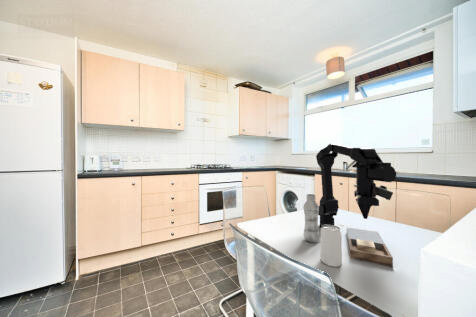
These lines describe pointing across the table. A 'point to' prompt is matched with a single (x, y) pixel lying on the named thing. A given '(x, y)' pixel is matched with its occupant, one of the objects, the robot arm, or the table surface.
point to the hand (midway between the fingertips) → (365, 218)
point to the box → (371, 255)
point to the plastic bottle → (311, 219)
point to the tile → (365, 246)
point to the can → (331, 245)
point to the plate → (365, 237)
